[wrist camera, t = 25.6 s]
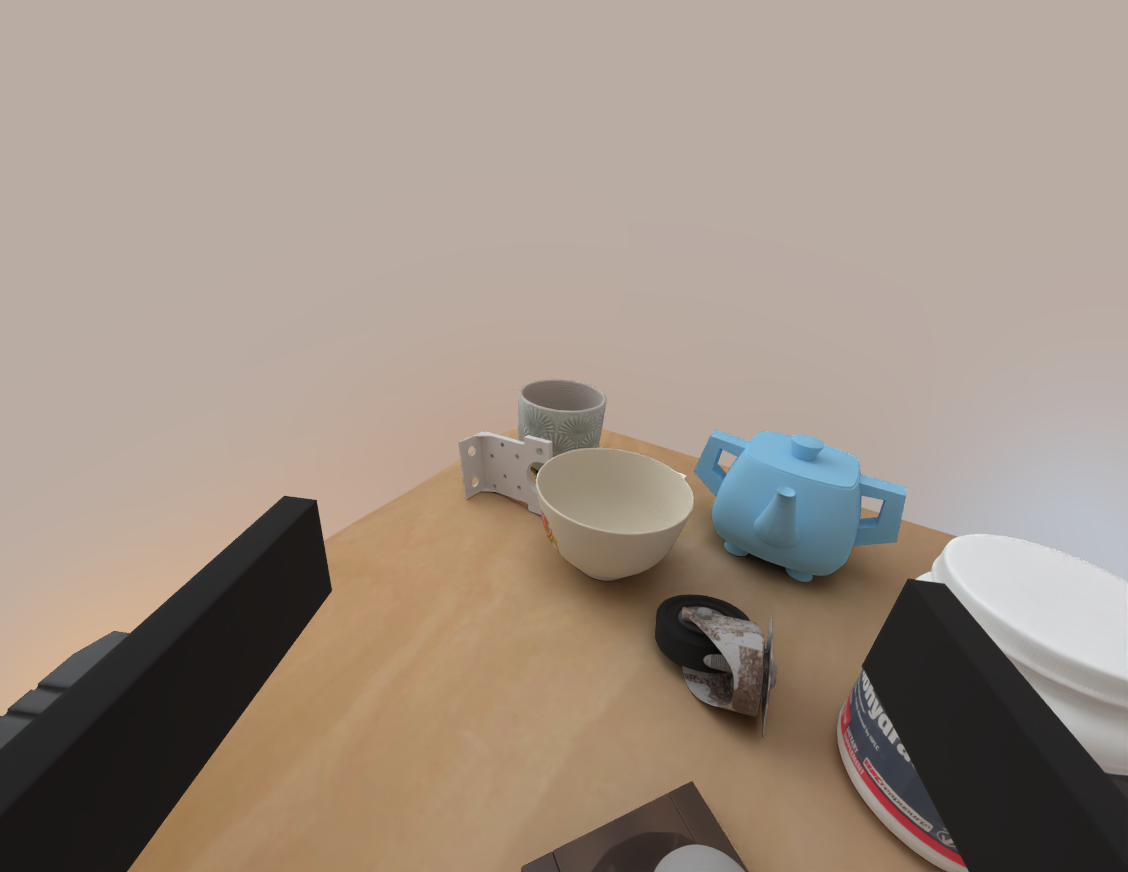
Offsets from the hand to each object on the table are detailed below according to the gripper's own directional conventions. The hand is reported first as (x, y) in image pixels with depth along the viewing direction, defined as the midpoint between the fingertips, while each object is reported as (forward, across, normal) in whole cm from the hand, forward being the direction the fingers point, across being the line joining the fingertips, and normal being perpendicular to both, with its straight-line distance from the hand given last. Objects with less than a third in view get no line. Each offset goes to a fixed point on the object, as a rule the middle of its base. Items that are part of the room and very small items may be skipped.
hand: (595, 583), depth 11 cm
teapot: (+40, +22, -28) cm, 54 cm away
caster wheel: (+22, +12, -28) cm, 38 cm away
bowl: (+34, +3, -28) cm, 44 cm away
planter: (+55, -5, -28) cm, 62 cm away
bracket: (+42, -10, -28) cm, 51 cm away
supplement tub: (+14, +27, -28) cm, 41 cm away
